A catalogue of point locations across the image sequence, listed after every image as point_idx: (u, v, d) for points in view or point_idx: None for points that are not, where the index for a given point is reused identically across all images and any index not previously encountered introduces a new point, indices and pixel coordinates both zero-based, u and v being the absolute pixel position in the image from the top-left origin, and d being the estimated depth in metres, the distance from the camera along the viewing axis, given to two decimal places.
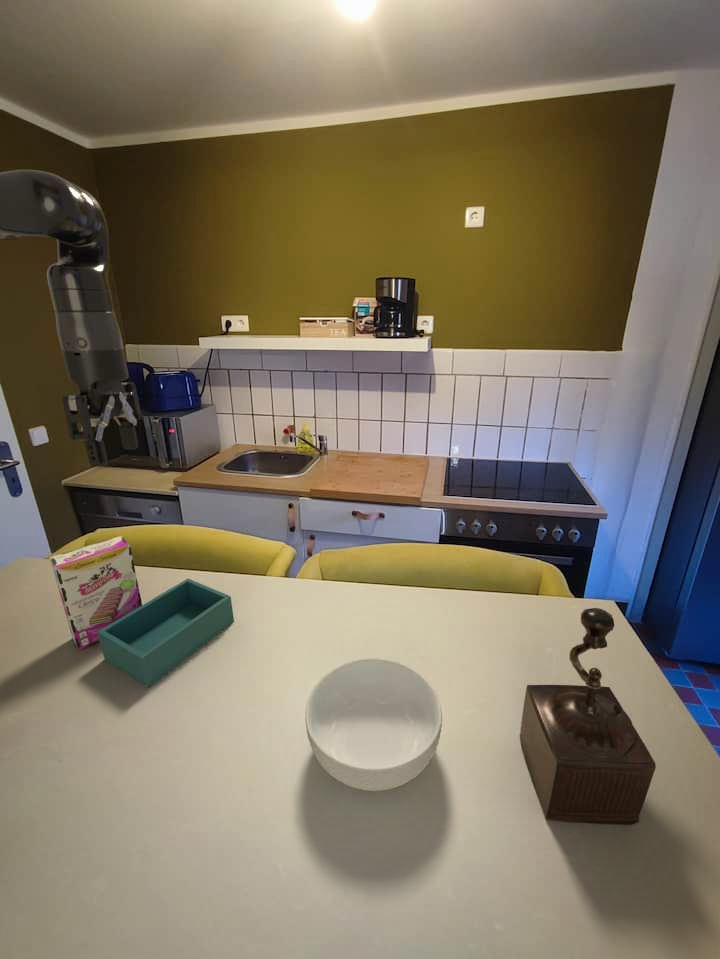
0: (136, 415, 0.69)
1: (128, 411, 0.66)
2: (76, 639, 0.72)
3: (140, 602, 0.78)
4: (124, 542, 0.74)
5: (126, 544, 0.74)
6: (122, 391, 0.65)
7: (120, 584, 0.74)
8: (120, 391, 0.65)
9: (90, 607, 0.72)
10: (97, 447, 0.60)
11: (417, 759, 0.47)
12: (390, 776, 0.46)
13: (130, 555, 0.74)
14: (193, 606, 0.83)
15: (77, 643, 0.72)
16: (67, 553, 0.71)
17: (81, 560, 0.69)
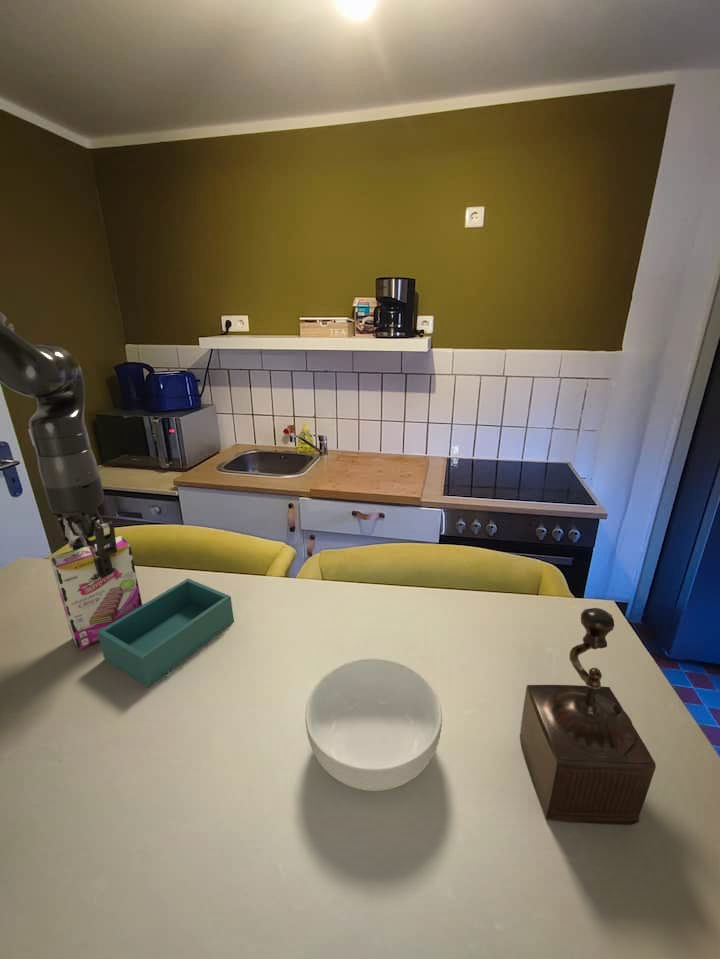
0: None
1: None
2: (76, 639, 0.72)
3: (140, 602, 0.78)
4: (124, 542, 0.74)
5: (126, 544, 0.74)
6: None
7: (120, 584, 0.74)
8: None
9: (90, 607, 0.72)
10: None
11: (417, 759, 0.47)
12: (390, 776, 0.46)
13: (130, 555, 0.74)
14: (193, 606, 0.83)
15: (77, 643, 0.72)
16: (67, 553, 0.71)
17: (82, 559, 0.69)
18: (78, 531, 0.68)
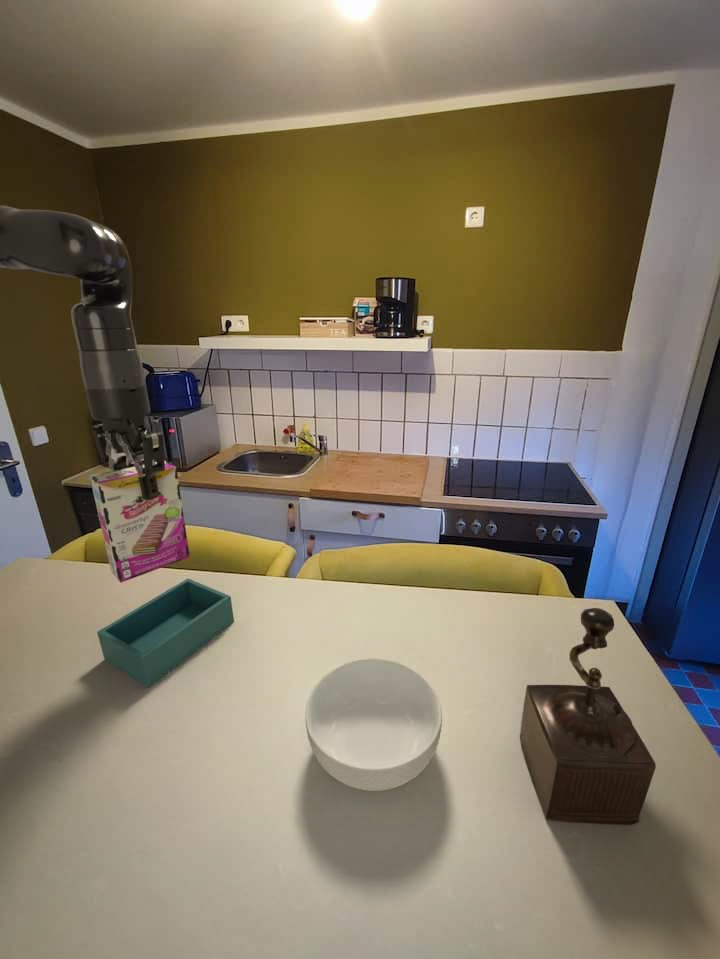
0: None
1: None
2: (118, 569, 0.64)
3: (185, 535, 0.70)
4: (169, 465, 0.67)
5: (172, 466, 0.66)
6: None
7: (165, 511, 0.67)
8: None
9: (134, 534, 0.64)
10: None
11: (417, 759, 0.47)
12: (390, 776, 0.46)
13: (176, 479, 0.67)
14: (193, 606, 0.83)
15: (119, 574, 0.64)
16: (108, 472, 0.63)
17: (126, 477, 0.62)
18: (123, 444, 0.60)
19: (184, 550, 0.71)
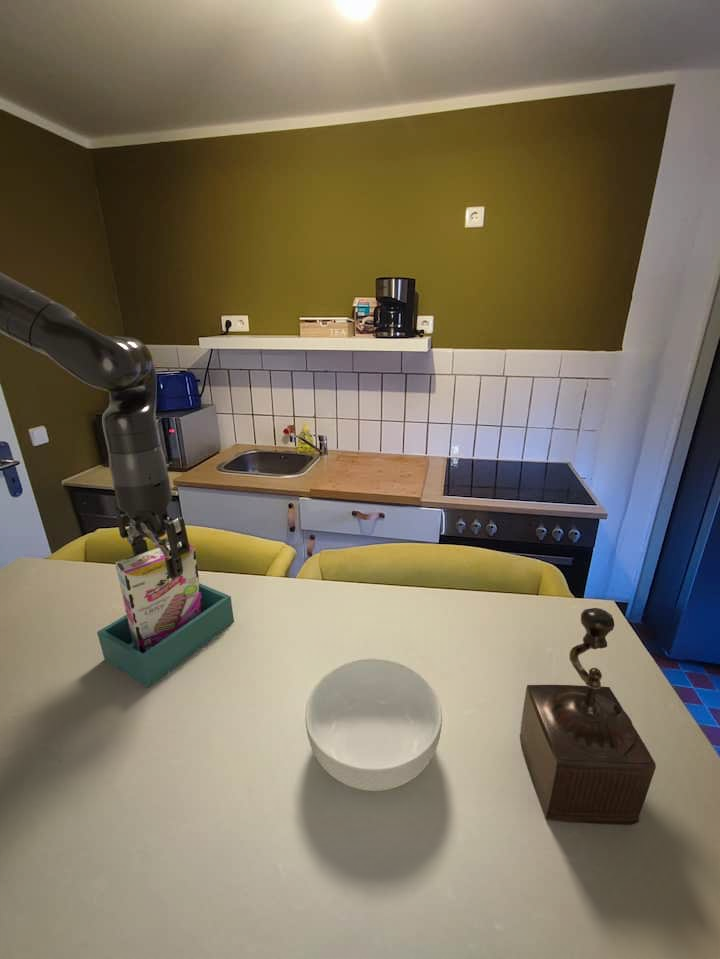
0: None
1: None
2: (141, 647, 0.69)
3: (202, 608, 0.75)
4: None
5: (191, 548, 0.71)
6: None
7: (184, 590, 0.72)
8: None
9: (156, 614, 0.69)
10: None
11: (417, 759, 0.47)
12: (390, 777, 0.46)
13: (194, 559, 0.72)
14: None
15: (142, 651, 0.69)
16: (132, 558, 0.68)
17: (149, 565, 0.66)
18: (147, 531, 0.65)
19: None
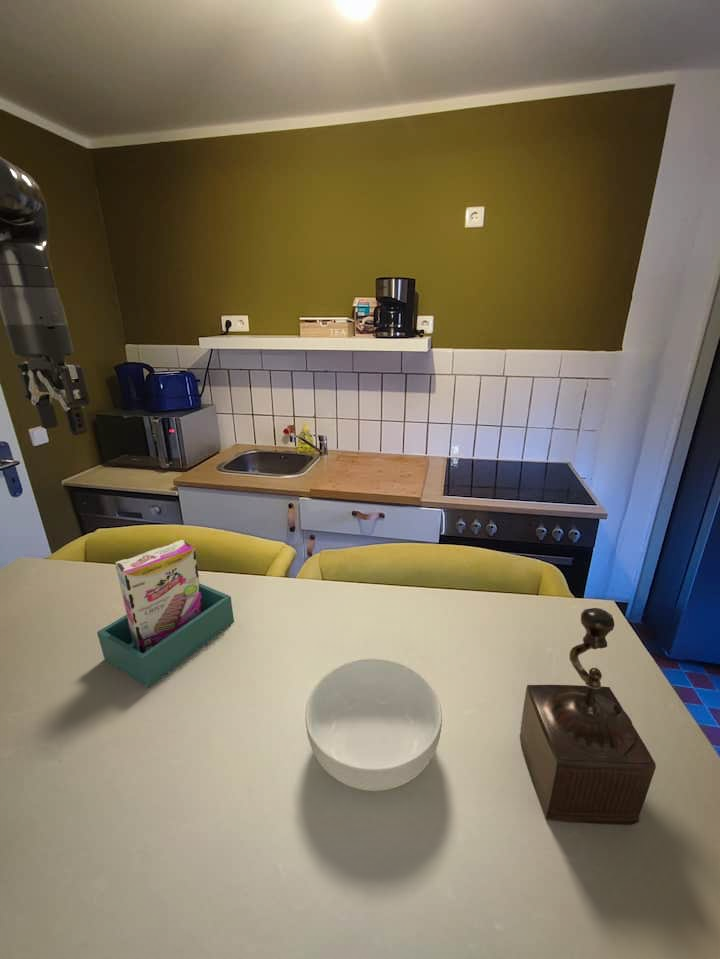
0: None
1: None
2: (141, 647, 0.69)
3: (202, 608, 0.75)
4: (188, 546, 0.72)
5: (191, 548, 0.71)
6: None
7: (184, 590, 0.72)
8: None
9: (156, 614, 0.69)
10: None
11: (417, 759, 0.47)
12: (390, 777, 0.46)
13: (194, 559, 0.72)
14: None
15: (142, 651, 0.69)
16: (132, 558, 0.68)
17: (149, 565, 0.66)
18: (44, 380, 0.63)
19: None
